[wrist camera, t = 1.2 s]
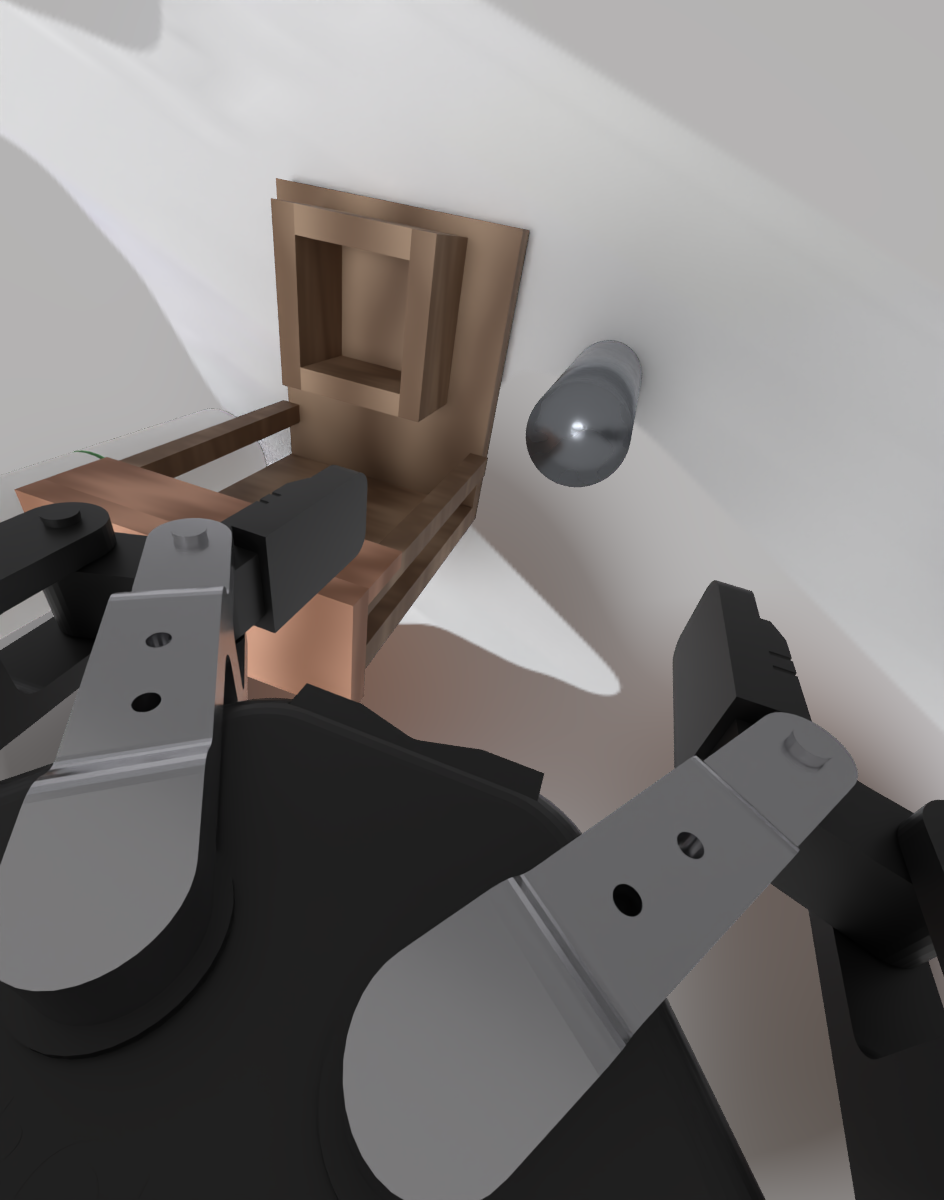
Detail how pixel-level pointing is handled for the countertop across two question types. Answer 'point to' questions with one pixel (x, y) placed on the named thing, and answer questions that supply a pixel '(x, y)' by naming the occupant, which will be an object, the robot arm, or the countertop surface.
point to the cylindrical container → (212, 475)
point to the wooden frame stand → (351, 414)
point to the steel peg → (586, 416)
